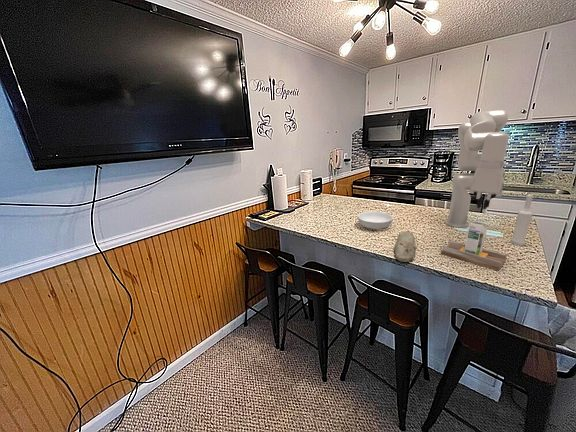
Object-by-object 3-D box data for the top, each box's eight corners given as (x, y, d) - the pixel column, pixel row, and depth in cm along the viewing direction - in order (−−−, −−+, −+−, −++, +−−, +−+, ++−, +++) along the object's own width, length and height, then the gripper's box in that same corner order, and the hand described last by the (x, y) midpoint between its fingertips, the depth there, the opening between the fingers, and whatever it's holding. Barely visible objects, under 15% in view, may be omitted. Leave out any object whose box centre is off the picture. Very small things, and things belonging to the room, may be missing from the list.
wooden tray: (450, 246, 126) (451, 239, 125) (505, 260, 110) (507, 253, 108) (440, 254, 119) (441, 247, 118) (498, 271, 102) (500, 263, 101)
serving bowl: (350, 225, 161) (350, 215, 159) (374, 218, 170) (374, 209, 168) (374, 235, 144) (375, 224, 142) (399, 227, 152) (400, 217, 150)
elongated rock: (416, 238, 140) (397, 237, 144) (416, 230, 139) (397, 228, 143) (416, 264, 110) (392, 262, 114) (417, 254, 109) (392, 251, 113)
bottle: (510, 243, 125) (522, 196, 117) (511, 240, 128) (523, 193, 120) (523, 246, 121) (537, 197, 113) (524, 243, 124) (537, 195, 116)
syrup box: (463, 252, 114) (468, 223, 109) (467, 248, 117) (473, 219, 113) (478, 256, 110) (484, 226, 105) (482, 252, 113) (488, 222, 109)
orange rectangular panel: (462, 248, 119) (462, 246, 119) (487, 255, 112) (488, 253, 112) (457, 253, 115) (457, 251, 115) (483, 260, 108) (484, 258, 108)
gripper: (518, 164, 97) (507, 209, 103) (471, 162, 109) (463, 203, 115) (513, 167, 93) (503, 213, 99) (465, 164, 104) (458, 206, 110)
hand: (482, 207), depth 106 cm, fingers closed
